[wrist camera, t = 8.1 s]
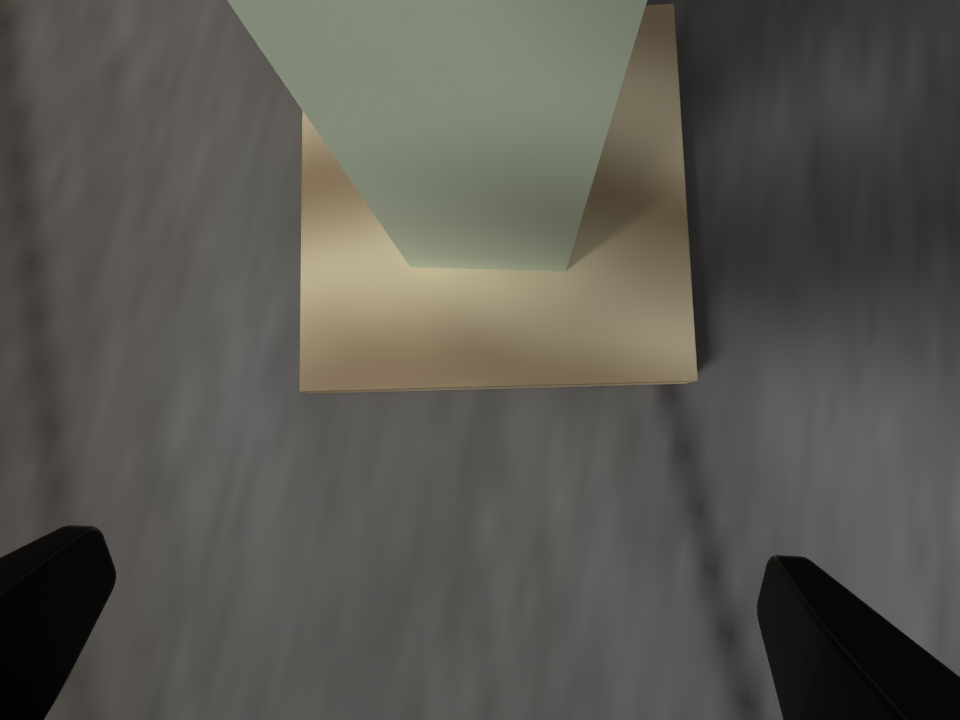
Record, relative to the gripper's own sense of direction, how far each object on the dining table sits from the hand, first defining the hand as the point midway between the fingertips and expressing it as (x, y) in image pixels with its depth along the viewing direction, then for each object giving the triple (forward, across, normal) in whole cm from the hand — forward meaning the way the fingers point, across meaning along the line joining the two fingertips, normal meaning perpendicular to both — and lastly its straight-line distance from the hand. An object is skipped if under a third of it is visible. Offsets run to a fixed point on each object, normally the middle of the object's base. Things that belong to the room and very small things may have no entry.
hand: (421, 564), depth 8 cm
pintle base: (+14, 0, -2) cm, 14 cm away
